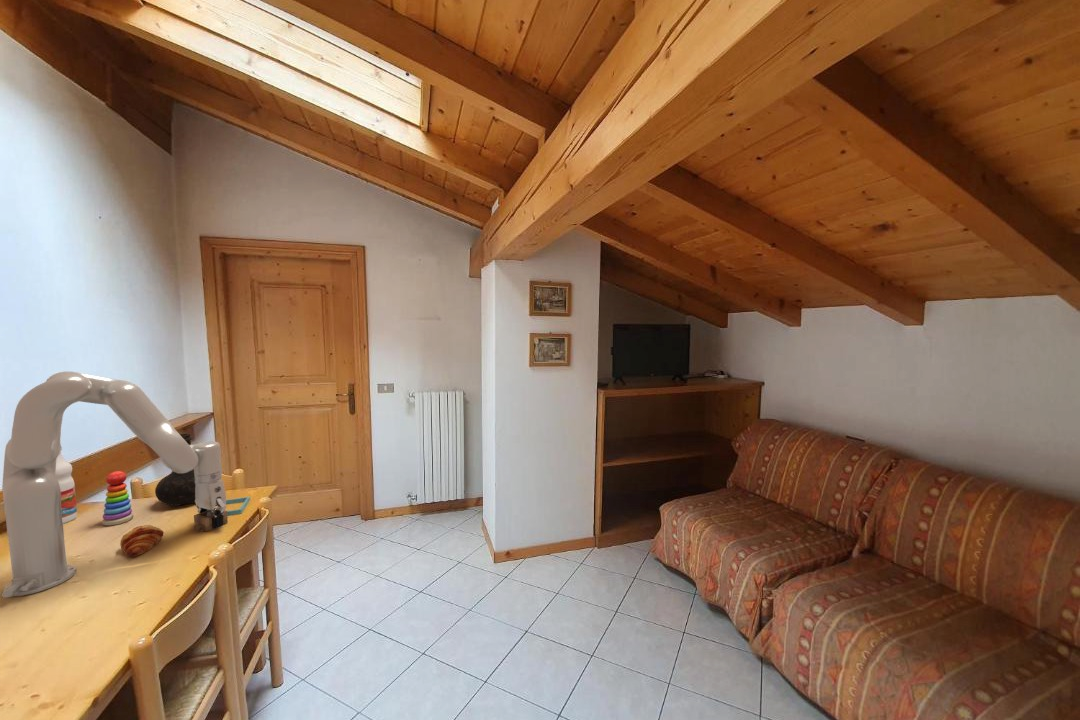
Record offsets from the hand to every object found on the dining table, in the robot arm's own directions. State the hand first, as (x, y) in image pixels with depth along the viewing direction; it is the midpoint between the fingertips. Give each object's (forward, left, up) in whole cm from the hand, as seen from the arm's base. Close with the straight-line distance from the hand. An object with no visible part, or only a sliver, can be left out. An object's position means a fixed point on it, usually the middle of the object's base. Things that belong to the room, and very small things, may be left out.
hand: (211, 524), depth 144 cm
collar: (0, 0, 0) cm, 0 cm away
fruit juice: (+26, +53, -1) cm, 59 cm away
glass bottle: (+30, +17, -1) cm, 35 cm away
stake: (0, 0, -1) cm, 1 cm away
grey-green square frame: (+13, -1, -1) cm, 13 cm away
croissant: (-6, +16, -2) cm, 18 cm away
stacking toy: (+18, +33, -1) cm, 38 cm away
